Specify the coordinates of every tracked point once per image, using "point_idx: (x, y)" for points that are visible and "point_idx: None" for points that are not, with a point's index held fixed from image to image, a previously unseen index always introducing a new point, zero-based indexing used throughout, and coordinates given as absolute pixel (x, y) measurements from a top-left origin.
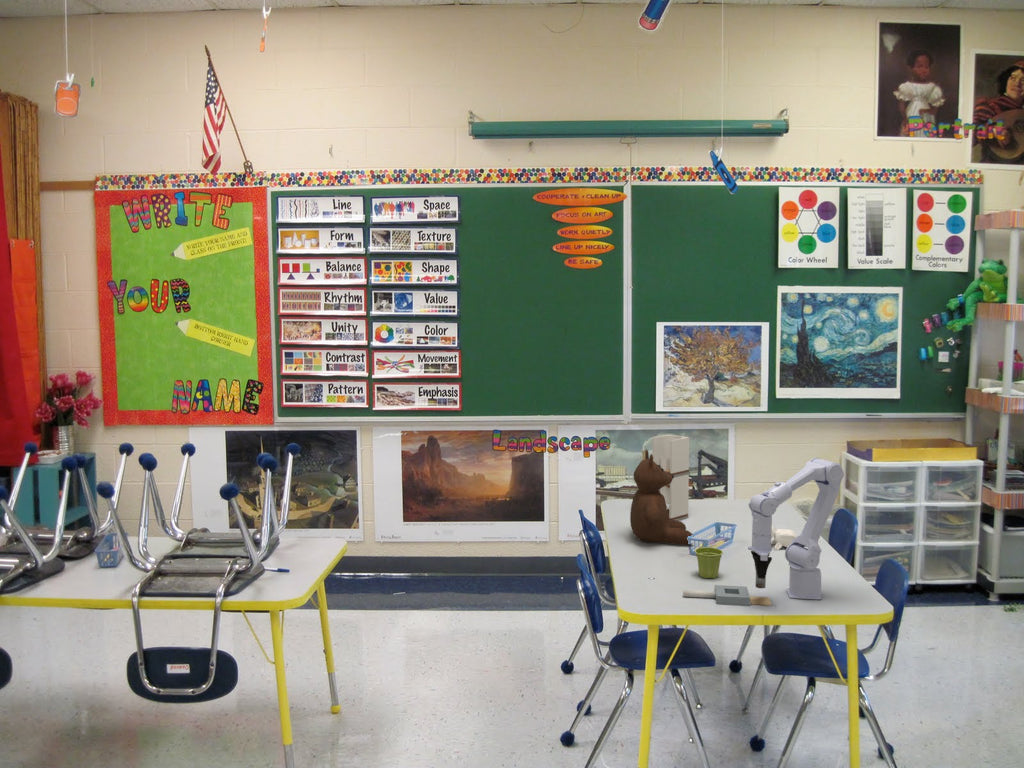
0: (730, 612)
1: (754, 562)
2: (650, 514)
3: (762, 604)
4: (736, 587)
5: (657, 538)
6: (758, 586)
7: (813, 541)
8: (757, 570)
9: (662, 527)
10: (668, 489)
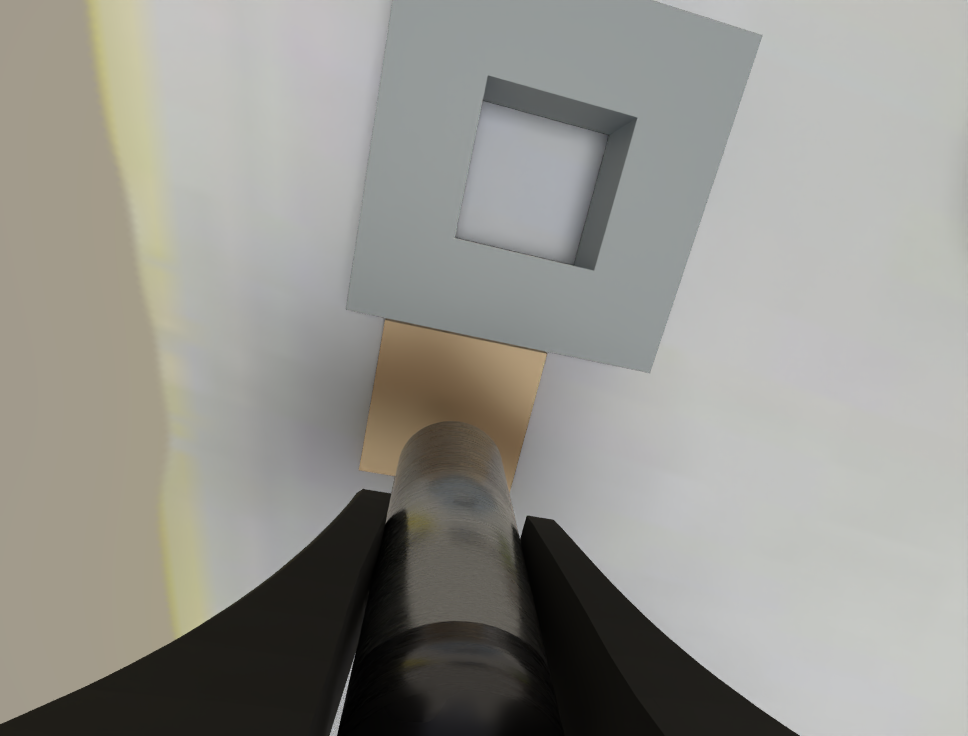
0: (181, 50)
1: (653, 626)
2: None
3: (371, 406)
4: (644, 266)
5: None
6: (407, 445)
7: None
8: (301, 557)
9: None
10: None
